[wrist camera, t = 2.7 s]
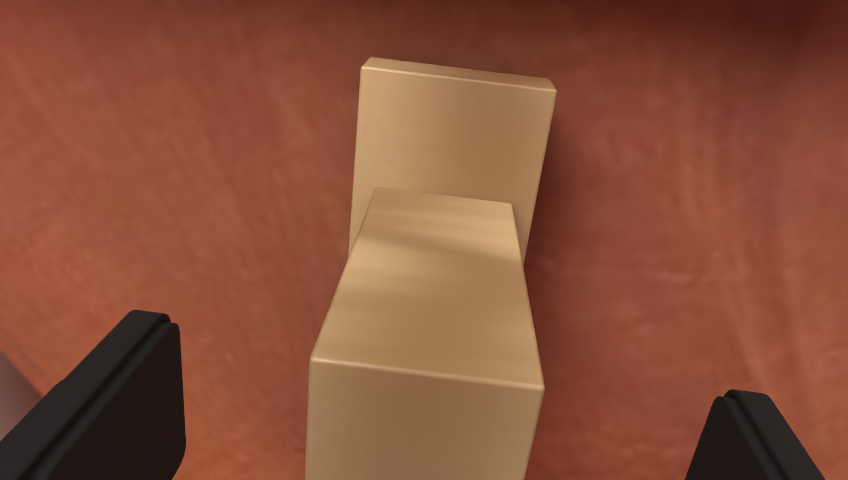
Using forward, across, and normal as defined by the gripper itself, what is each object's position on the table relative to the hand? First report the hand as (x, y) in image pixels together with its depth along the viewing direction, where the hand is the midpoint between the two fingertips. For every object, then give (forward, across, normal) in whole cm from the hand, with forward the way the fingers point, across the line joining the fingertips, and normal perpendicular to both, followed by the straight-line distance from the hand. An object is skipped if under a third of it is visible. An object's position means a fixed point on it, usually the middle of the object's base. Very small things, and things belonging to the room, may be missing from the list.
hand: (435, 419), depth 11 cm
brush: (+7, 0, 0) cm, 7 cm away
